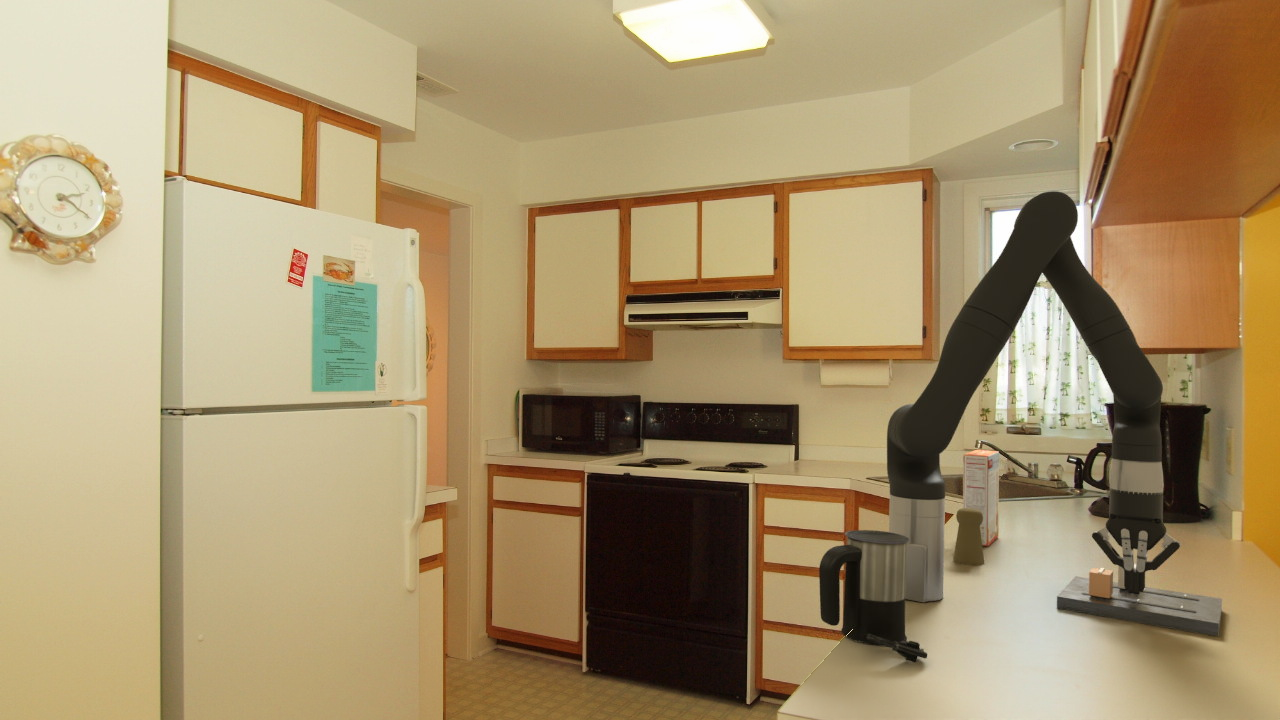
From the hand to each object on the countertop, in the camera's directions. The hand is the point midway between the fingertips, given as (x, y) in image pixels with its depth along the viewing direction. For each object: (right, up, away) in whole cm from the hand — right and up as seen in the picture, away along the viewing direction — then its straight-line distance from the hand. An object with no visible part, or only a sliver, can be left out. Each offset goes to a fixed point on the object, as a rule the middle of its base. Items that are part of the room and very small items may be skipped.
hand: (1134, 593), depth 133 cm
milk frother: (-47, -2, -19) cm, 51 cm away
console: (+2, -4, +3) cm, 5 cm away
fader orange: (-4, -1, +3) cm, 5 cm away
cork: (-13, -4, +36) cm, 38 cm away
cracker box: (-1, -5, +58) cm, 58 cm away
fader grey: (+4, -1, +8) cm, 9 cm away
